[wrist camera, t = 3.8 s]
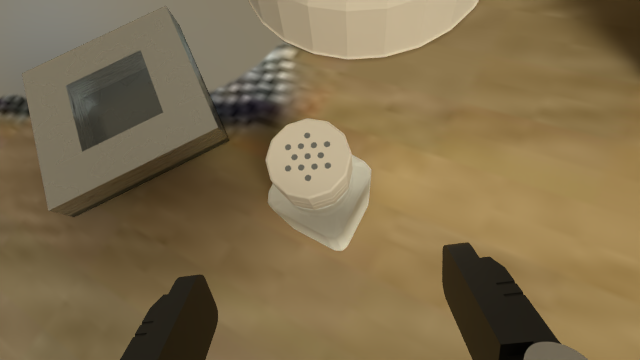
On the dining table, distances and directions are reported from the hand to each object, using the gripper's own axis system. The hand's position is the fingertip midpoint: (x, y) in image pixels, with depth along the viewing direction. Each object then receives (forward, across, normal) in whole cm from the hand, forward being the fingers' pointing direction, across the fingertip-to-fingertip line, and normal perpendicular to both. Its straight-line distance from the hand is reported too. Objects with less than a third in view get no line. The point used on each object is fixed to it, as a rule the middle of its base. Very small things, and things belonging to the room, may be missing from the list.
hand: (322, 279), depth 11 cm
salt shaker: (+10, 0, +4) cm, 10 cm away
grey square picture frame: (+16, +14, -4) cm, 22 cm away
